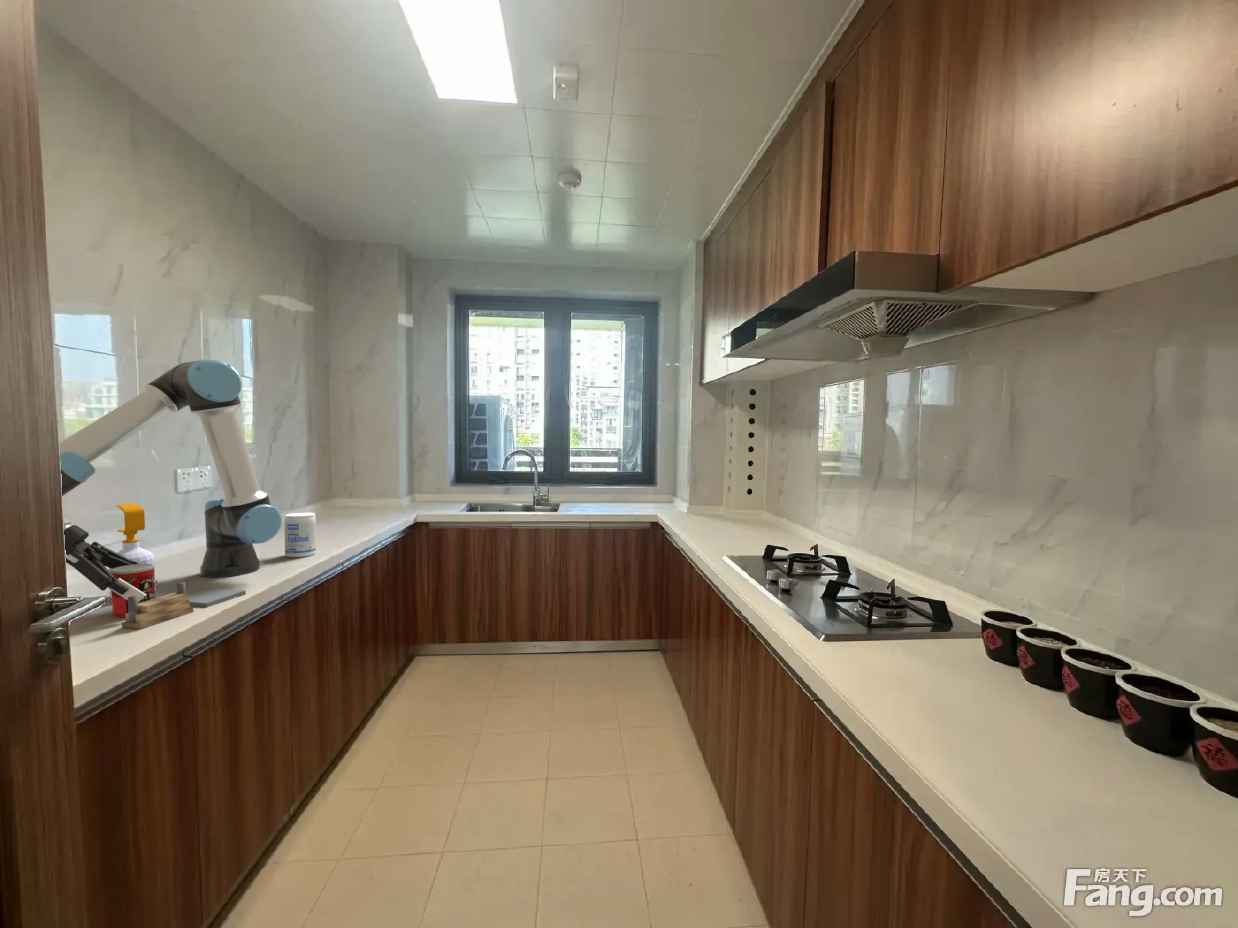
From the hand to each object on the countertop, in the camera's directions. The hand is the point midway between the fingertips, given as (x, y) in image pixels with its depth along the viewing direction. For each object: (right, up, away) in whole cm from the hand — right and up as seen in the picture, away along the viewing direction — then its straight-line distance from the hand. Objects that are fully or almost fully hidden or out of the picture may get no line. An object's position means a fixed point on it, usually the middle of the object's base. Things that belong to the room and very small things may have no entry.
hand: (148, 593), depth 129 cm
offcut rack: (+8, -5, -6) cm, 11 cm away
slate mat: (+8, -4, +9) cm, 13 cm away
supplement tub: (+1, -1, +60) cm, 60 cm away
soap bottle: (-15, -4, +13) cm, 20 cm away
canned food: (-2, -5, -1) cm, 5 cm away
